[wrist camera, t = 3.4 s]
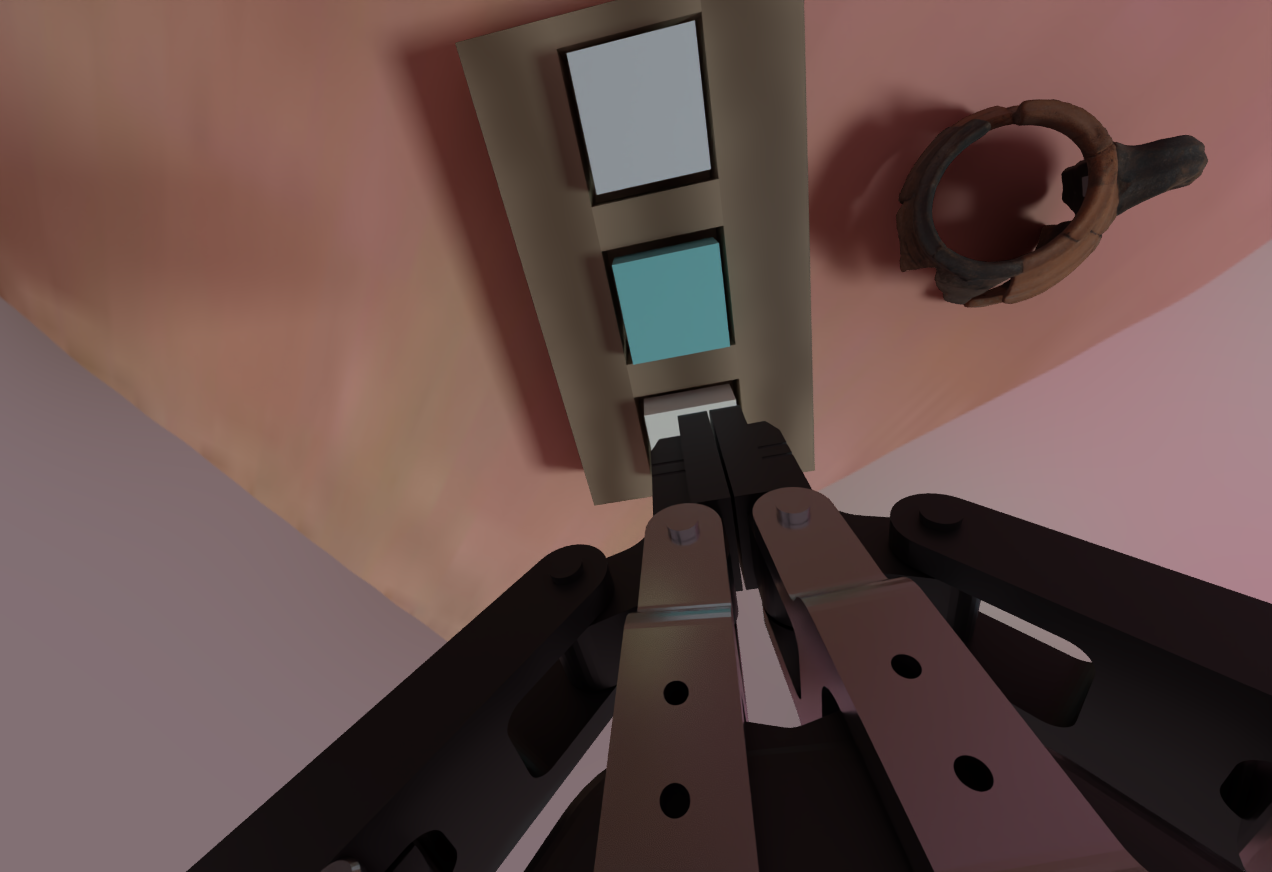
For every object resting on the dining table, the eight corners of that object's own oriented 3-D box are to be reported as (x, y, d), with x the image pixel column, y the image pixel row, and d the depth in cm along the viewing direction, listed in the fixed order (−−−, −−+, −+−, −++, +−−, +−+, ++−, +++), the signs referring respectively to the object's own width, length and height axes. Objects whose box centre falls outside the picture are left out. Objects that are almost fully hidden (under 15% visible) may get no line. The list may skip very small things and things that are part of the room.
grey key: (600, 192, 23) (596, 194, 21) (573, 64, 21) (566, 53, 19) (704, 168, 22) (710, 169, 20) (689, 34, 20) (694, 20, 18)
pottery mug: (910, 336, 30) (927, 332, 23) (865, 192, 30) (867, 140, 23) (1168, 253, 25) (1298, 212, 18) (1115, 76, 25) (1224, -41, 17)
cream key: (658, 469, 31) (660, 489, 29) (643, 398, 28) (644, 415, 26) (737, 456, 30) (744, 475, 28) (729, 383, 28) (736, 399, 26)
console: (598, 471, 35) (594, 505, 31) (482, 61, 23) (455, 42, 20) (796, 438, 33) (814, 470, 30) (776, -15, 22) (802, -50, 18)
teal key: (633, 350, 27) (633, 364, 25) (614, 257, 24) (611, 265, 22) (723, 333, 26) (730, 346, 24) (712, 236, 24) (718, 243, 22)
